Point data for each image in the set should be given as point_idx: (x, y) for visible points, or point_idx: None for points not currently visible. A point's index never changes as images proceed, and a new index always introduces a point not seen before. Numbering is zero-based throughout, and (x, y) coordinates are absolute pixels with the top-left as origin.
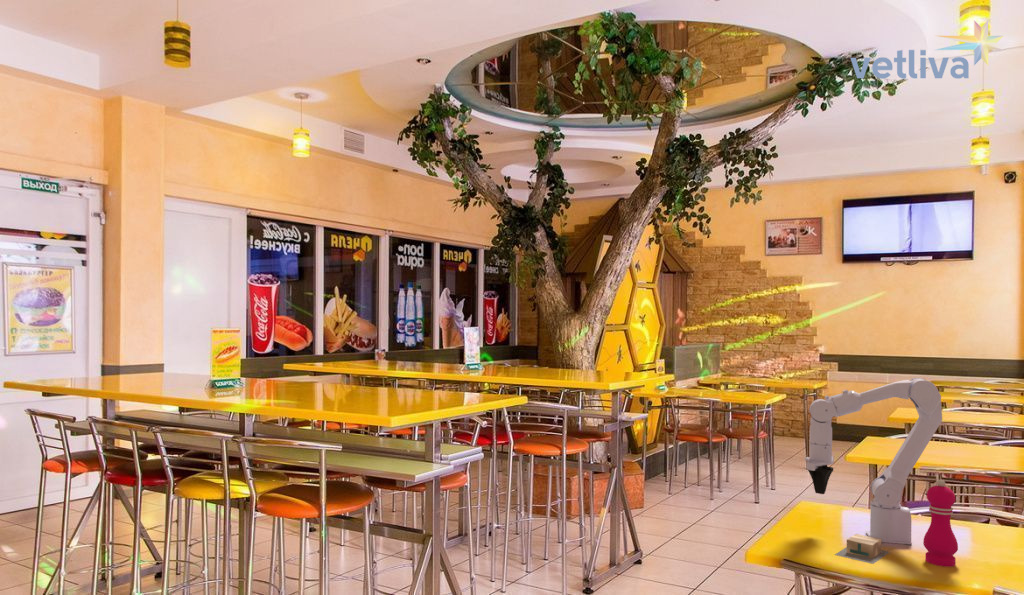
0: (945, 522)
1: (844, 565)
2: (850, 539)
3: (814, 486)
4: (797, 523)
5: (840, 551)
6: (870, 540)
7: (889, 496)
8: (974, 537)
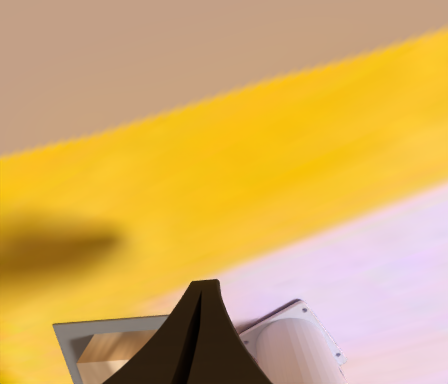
0: None
1: (16, 358)
2: (86, 368)
3: (178, 305)
4: (246, 128)
5: (88, 324)
6: None
7: None
8: None
